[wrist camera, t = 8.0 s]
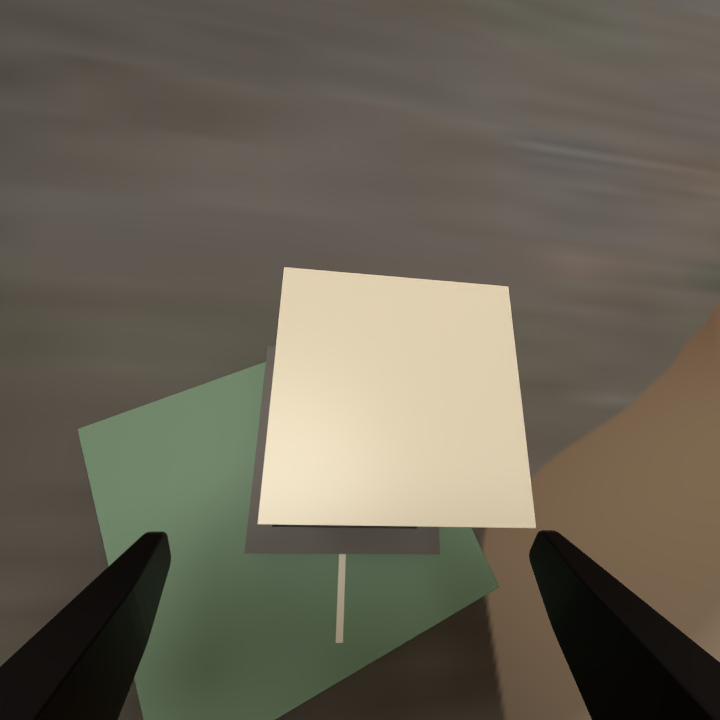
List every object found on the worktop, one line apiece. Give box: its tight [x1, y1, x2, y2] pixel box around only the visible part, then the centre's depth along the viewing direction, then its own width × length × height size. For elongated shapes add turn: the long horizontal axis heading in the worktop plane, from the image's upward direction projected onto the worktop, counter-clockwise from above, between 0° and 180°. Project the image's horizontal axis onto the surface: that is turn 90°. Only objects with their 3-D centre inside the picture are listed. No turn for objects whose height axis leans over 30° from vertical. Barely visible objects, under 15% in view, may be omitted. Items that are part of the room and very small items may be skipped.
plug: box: [258, 267, 536, 528], centre depth 12 cm, size 5×5×12 cm
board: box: [78, 346, 499, 720], centre depth 17 cm, size 14×17×2 cm
